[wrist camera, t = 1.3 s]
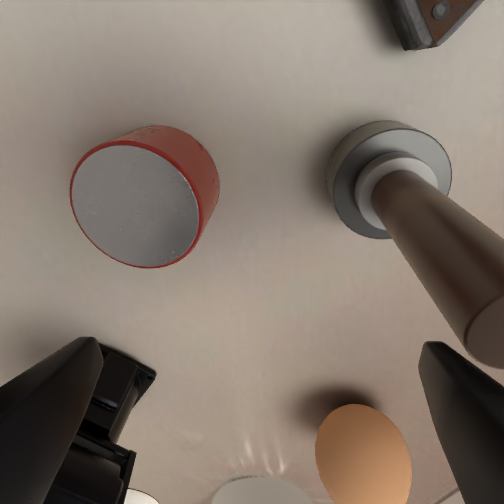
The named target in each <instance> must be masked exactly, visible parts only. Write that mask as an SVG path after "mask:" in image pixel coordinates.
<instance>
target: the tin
mask: <svg viewBox="0 0 504 504" xmlns="http://www.w3.org/2000/svg"><path fill="white" fill-rule="evenodd" d="M218 196H219V178H218V173H217V170H216V167H215V164H214V162H213V160H212V158H211V157H210V155H209V154H208V152H207V151H206V150H205V148H204V147H203V146H202V145H201V144H200V143H199V142H198V141H197V140H195V139H194V138H193V137H191V136H190V135H188V134H186V133H185V132H182V131H180V130H178V129H175V128H171V127H166V126H150V127H145V128H142V129H139V130H136V131H134V132H131V133H129V134H126V135H123V136H121V137H118V138H116V139H113V140H111V141H108V142H105V143H103V144H101V145H98V146H96V147H94V148H93V149H91V150H90V151H89V152H87V153H86V154H85V155H84V156H83V157H82V158H81V160H80V161H79V162H78V164H77V165H76V167H75V170H74V172H73V175H72V178H71V183H70V201H71V207H72V210H73V214H74V216H75V218H76V221H77V223H78V225H79V226H80V228H81V230H82V231H83V233H84V234H85V235H86V237H87V238H88V239H89V240H90V241H91V242H92V243H93V244H94V245H95V246H96V247H97V248H98V249H99V250H101V251H102V252H103V253H104V254H106V255H108V256H109V257H111V258H112V259H114V260H116V261H118V262H121V263H123V264H126V265H129V266H133V267H139V268H160V267H165V266H168V265H171V264H174V263H176V262H178V261H180V260H181V259H183V258H184V257H185V256H187V255H188V254H189V253H190V252H191V251H192V249H193V248H194V247H195V245H196V244H197V242H198V240H199V238H200V236H201V234H202V232H203V230H204V228H205V226H206V224H207V222H208V220H209V218H210V216H211V214H212V212H213V210H214V209H215V206H216V204H217V201H218Z"/></svg>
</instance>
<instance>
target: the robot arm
mask: <svg viewBox="0 0 504 504" xmlns="http://www.w3.org/2000/svg"><path fill="white" fill-rule="evenodd" d="M418 368H419V374H420V378H421V381H422V385H423V388H424V392H425V395H426V399H427V402H428V406H429V409H430V413H431V416H432V420H433V423H434V426H435V429H436V432H437V435H438V438H439V440H440V443H441V445H442V448H443V450H444V453H445V455H446V458H447V460H448V463H449V465H450V467H451V470H452V472H453V475H454V477H455V480H456V482H457V485H458V487H459V490H460V492H461V494H462V497H463V499H464V502H465V504H504V386H502V385H501V384H499V383H498V382H497V381H495V380H494V379H493V378H491V377H490V376H489V375H487V374H486V373H485V372H483V371H482V370H480V369H479V368H478V367H476V366H475V365H474V364H472V363H471V362H470V361H468V360H467V359H466V358H464V357H463V356H461V355H460V354H459V353H457V352H456V351H455V350H453V349H452V348H451V347H449V346H448V345H447V344H445V343H443V342H440V341H427V342H425V343H424V345H423V348H422V352H421V356H420V360H419V366H418ZM155 377H156V373H155V372H154V371H152V370H150V369H148V368H146V367H144V366H142V365H140V364H138V363H136V362H134V361H132V360H130V359H128V358H126V357H124V356H122V355H120V354H118V353H116V352H114V351H112V350H110V349H108V348H106V347H104V346H102V345H100V344H98V342H97V340H96V339H95V338H94V337H79V338H77V339H76V340H74V341H72V342H71V343H69V344H68V345H66V346H65V347H63V348H61V349H60V350H58V351H57V352H55V353H53V354H52V355H50V356H49V357H47V358H46V359H44V360H42V361H41V362H39V363H38V364H36V365H34V366H33V367H31V368H30V369H28V370H26V371H25V372H23V373H22V374H20V375H19V376H17V377H15V378H14V379H12V380H11V381H9V382H7V383H6V384H4V385H3V386H1V387H0V504H124V501H125V497H126V493H127V490H128V486H129V482H130V478H131V474H132V470H133V466H134V462H135V458H136V454H137V453H136V452H134V451H132V450H130V451H129V450H127V449H125V448H123V447H121V446H119V445H117V444H116V443H117V441H118V439H119V436H120V434H121V432H122V430H123V428H124V425H125V423H126V421H127V419H128V416H129V414H130V412H131V410H132V408H133V407H134V406H135V405H136V403H137V402H138V401H139V399H140V398H141V397H142V396H143V394H144V393H145V392H146V390H147V389H148V388H149V386H150V385H151V384H152V383H153V381H154V380H155Z"/></svg>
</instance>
